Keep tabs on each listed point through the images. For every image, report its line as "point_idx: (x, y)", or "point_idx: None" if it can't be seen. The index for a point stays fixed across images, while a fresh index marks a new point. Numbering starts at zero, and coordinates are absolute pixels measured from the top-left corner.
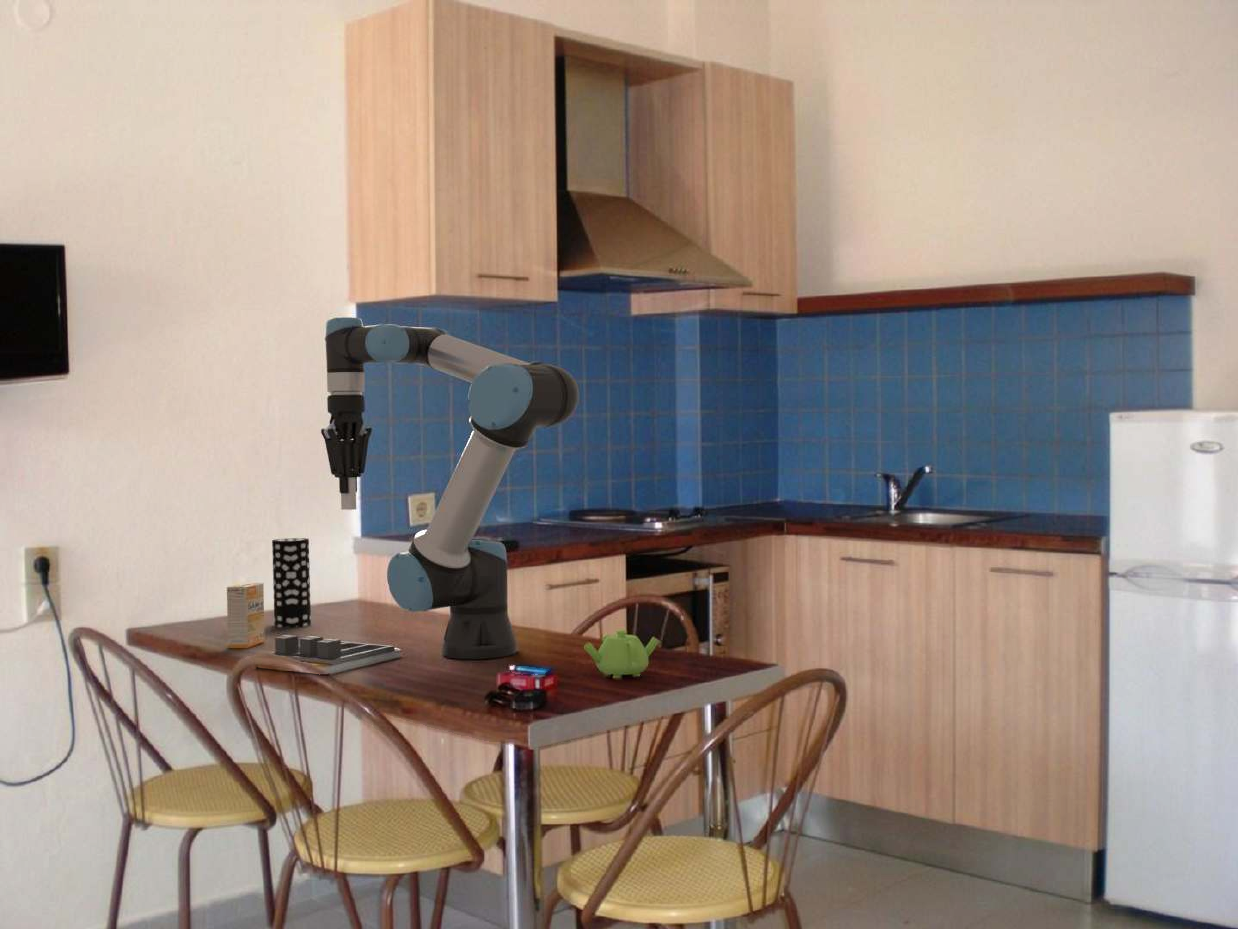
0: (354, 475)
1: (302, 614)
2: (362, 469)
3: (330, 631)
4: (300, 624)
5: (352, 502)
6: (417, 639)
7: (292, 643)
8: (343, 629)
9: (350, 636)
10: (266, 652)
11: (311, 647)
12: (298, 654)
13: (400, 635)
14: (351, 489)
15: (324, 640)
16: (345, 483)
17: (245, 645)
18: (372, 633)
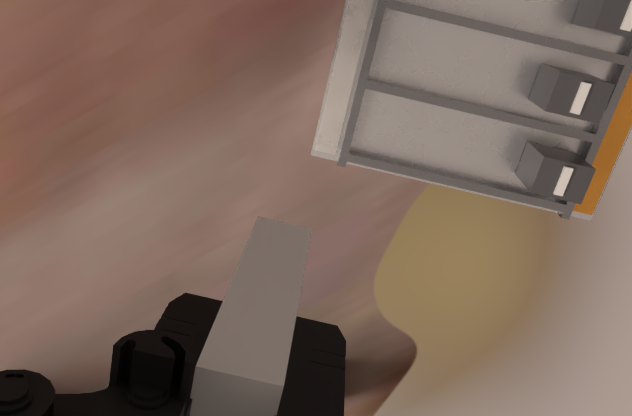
0: (185, 396)
1: None
2: (10, 402)
3: (55, 299)
4: None
5: (292, 249)
6: (80, 5)
7: (561, 157)
8: (16, 283)
9: (102, 216)
10: (369, 297)
11: (599, 79)
12: (564, 126)
13: (39, 90)
14: (289, 307)
15: (630, 29)
16: (329, 384)
17: None
18: (40, 183)
